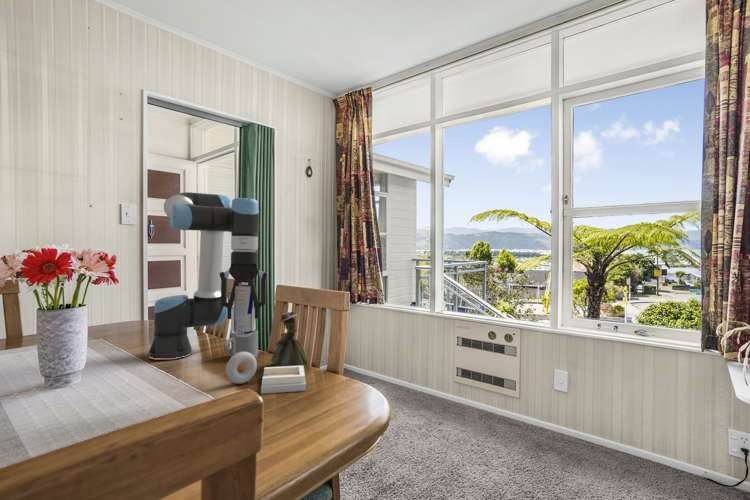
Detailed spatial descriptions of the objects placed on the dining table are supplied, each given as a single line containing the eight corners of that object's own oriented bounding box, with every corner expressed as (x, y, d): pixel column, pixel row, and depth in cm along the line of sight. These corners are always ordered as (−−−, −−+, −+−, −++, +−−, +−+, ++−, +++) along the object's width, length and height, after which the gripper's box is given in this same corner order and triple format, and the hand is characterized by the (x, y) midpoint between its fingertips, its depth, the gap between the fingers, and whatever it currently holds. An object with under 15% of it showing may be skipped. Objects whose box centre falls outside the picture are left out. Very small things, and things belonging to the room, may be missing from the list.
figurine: (286, 358, 150) (287, 307, 150) (317, 363, 144) (318, 310, 144) (261, 368, 137) (262, 312, 137) (293, 374, 131) (294, 316, 131)
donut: (253, 378, 127) (254, 348, 127) (258, 381, 124) (259, 350, 124) (223, 385, 120) (224, 353, 120) (228, 388, 117) (228, 355, 117)
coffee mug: (252, 352, 159) (252, 327, 159) (261, 357, 151) (261, 332, 152) (218, 357, 151) (219, 331, 151) (226, 363, 143) (227, 336, 143)
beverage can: (255, 334, 115) (256, 284, 115) (244, 338, 110) (245, 286, 110) (241, 333, 117) (242, 283, 117) (230, 336, 112) (230, 285, 112)
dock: (264, 376, 129) (264, 364, 129) (303, 374, 132) (303, 362, 132) (260, 393, 114) (261, 380, 114) (305, 390, 117) (305, 377, 117)
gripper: (209, 250, 108) (207, 333, 108) (275, 251, 112) (274, 331, 112) (214, 250, 116) (213, 328, 116) (276, 251, 119) (275, 326, 119)
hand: (243, 329), depth 114 cm, fingers closed on beverage can, 5 cm apart
